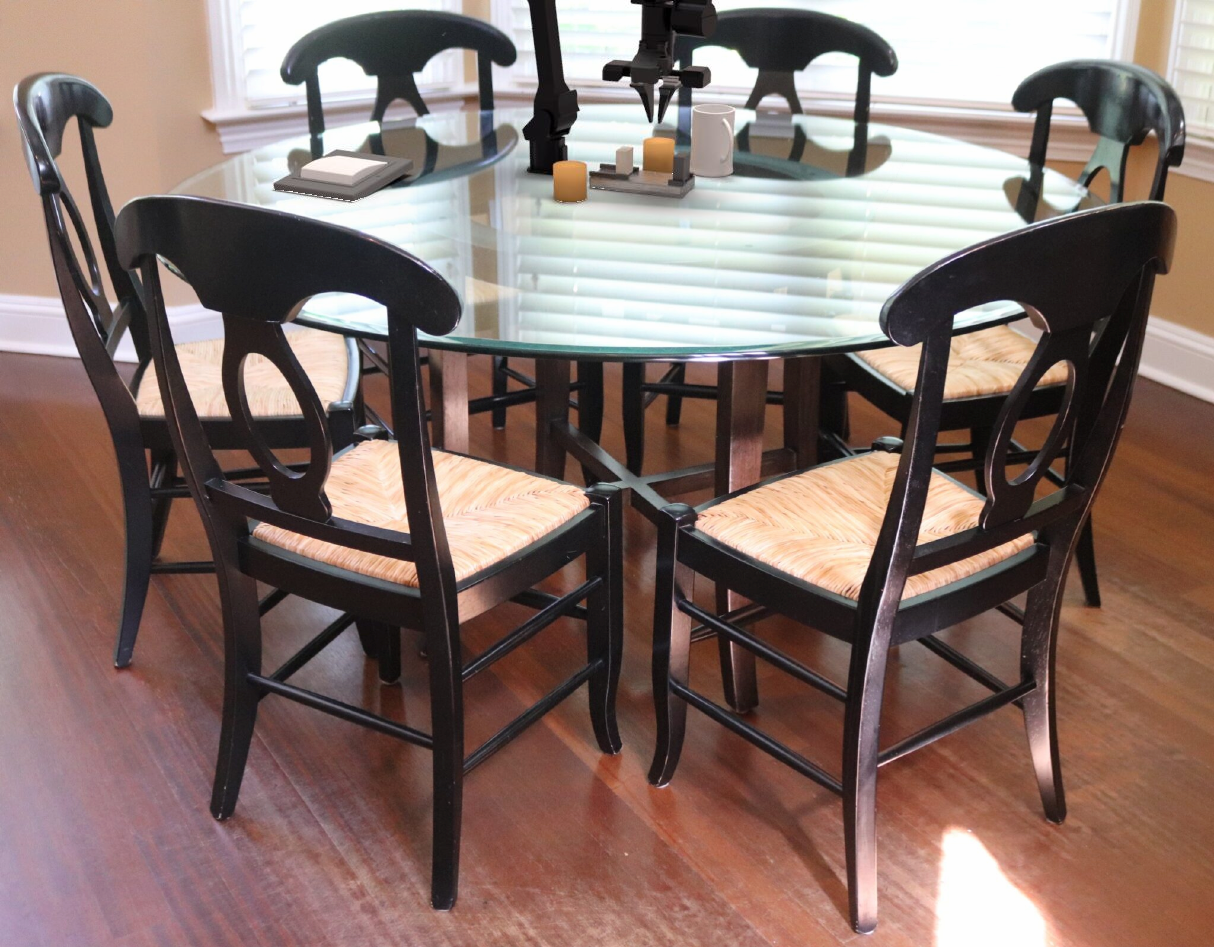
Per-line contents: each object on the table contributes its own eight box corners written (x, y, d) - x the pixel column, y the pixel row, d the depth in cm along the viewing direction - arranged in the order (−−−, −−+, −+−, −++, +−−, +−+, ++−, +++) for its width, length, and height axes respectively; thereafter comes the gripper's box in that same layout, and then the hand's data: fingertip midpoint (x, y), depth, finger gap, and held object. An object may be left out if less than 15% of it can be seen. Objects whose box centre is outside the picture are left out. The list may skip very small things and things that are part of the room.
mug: (747, 179, 236) (751, 115, 230) (705, 183, 234) (708, 119, 228) (722, 164, 246) (725, 102, 240) (682, 167, 243) (684, 105, 238)
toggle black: (672, 181, 227) (673, 156, 224) (679, 175, 230) (679, 151, 228) (683, 182, 226) (683, 157, 224) (689, 176, 229) (690, 152, 227)
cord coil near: (548, 200, 224) (548, 167, 221) (561, 192, 229) (560, 159, 226) (579, 204, 222) (579, 171, 219) (591, 195, 227) (591, 162, 224)
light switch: (270, 174, 227) (335, 140, 242) (275, 199, 229) (338, 164, 244) (350, 186, 220) (412, 150, 235) (354, 212, 223) (415, 175, 238)
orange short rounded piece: (638, 174, 239) (639, 143, 236) (648, 167, 244) (648, 136, 241) (668, 178, 237) (669, 146, 234) (677, 170, 242) (678, 139, 239)
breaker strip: (587, 188, 231) (587, 173, 229) (602, 176, 237) (602, 162, 236) (681, 198, 225) (682, 183, 224) (694, 186, 232) (695, 171, 231)
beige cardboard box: (615, 175, 230) (615, 151, 228) (622, 170, 233) (623, 145, 231) (625, 176, 229) (626, 152, 227) (632, 171, 233) (633, 146, 230)
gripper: (591, 36, 213) (591, 128, 221) (695, 44, 208) (692, 138, 215) (613, 26, 223) (612, 115, 230) (713, 33, 217) (709, 123, 225)
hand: (655, 123), depth 225 cm, fingers closed
